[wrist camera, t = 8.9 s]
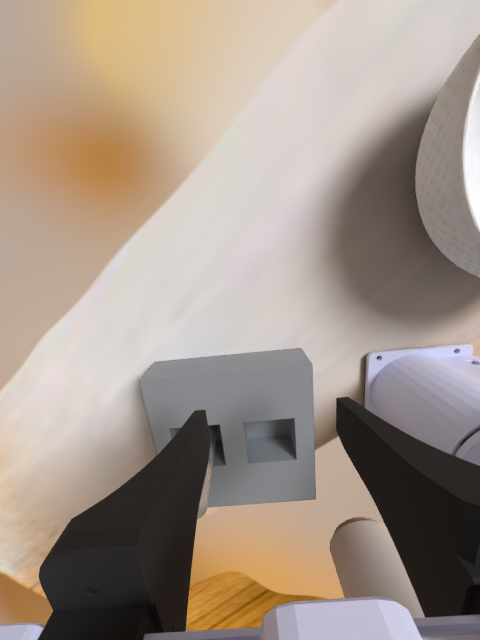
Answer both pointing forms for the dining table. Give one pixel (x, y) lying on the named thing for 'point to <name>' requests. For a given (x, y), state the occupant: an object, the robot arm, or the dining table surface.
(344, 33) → the dining table surface
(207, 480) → the pin
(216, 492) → the hole block
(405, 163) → the dining table surface
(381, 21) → the dining table surface
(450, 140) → the cereal bowl
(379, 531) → the can
